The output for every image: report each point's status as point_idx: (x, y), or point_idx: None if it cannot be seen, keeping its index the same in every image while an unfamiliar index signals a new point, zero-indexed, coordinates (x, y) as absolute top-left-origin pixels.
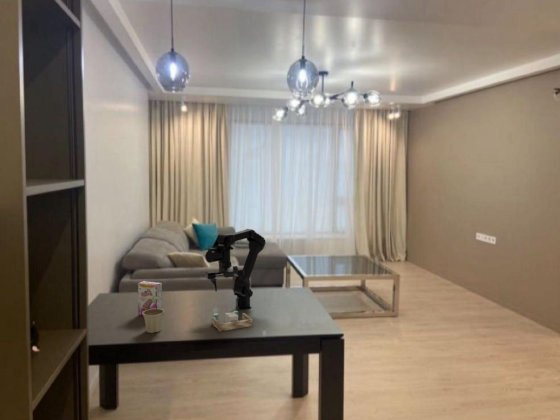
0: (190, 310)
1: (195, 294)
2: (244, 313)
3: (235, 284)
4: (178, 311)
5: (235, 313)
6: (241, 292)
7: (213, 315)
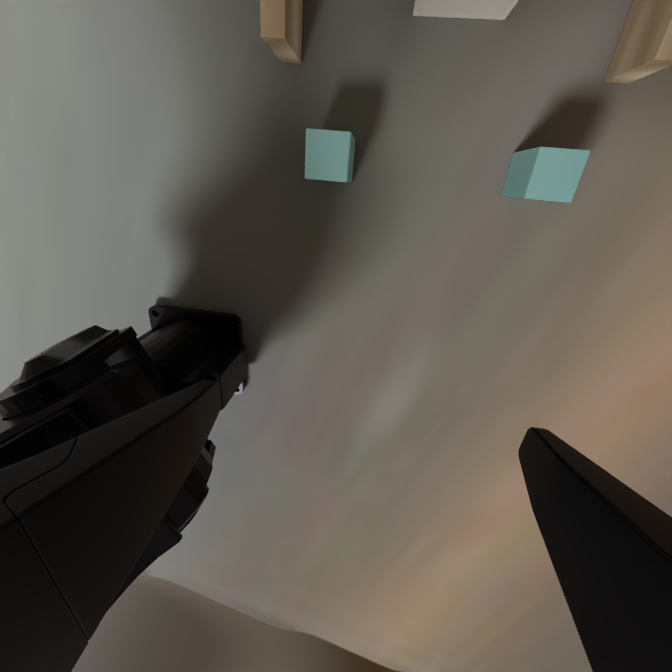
0: None
1: (365, 622)
2: (266, 5)
3: (125, 424)
4: None
5: (339, 133)
6: (136, 367)
7: (568, 188)
